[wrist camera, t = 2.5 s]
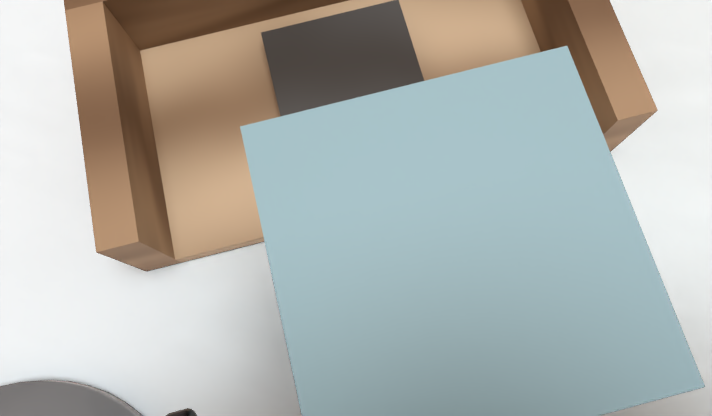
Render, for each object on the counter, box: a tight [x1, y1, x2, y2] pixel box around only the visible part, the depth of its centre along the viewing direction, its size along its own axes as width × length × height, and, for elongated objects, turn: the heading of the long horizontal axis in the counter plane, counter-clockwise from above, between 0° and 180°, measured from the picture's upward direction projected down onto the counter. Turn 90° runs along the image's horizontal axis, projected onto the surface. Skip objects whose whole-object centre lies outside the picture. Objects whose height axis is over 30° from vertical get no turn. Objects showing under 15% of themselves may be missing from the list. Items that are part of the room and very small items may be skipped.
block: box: [240, 46, 705, 416], centre depth 13 cm, size 5×5×11 cm
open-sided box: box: [64, 0, 657, 271], centre depth 19 cm, size 9×16×4 cm, turn 104°
